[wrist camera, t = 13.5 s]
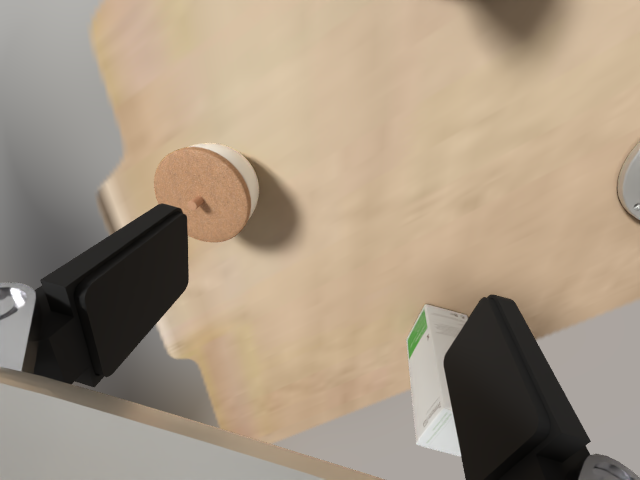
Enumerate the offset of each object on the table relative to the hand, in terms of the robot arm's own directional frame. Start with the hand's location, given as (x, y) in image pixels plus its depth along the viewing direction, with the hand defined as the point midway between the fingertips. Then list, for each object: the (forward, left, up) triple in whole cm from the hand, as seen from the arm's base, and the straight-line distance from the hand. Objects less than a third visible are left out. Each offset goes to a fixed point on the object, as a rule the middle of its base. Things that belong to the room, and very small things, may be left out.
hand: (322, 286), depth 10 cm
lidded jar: (+15, +10, -28) cm, 34 cm away
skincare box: (-18, +25, -28) cm, 42 cm away
